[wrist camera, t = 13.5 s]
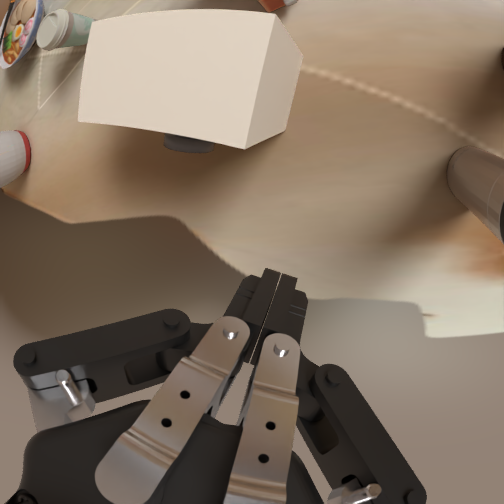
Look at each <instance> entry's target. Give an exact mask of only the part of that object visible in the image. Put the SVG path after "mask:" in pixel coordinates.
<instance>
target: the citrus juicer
mask: <svg viewBox="0 0 504 504" xmlns="http://www.w3.org/2000/svg"><path fill="white" fill-rule="evenodd" d="M30 151H31V148H30V145H29V141H28V138H27V136H26V135H25V133H23V132H21V131H17V130H14V131H12V130H9V131H2V132H0V188H1V187H3V186H5V185H7V184H9V183H10V182H12V181H13V180H15V179H16V178H17V177H18V176H20V175H21V174H22V173H23V172H24V171H25V170H26V169H27V168H28V166H29V163H30Z"/></svg>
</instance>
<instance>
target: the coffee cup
mask: <svg viewBox="0 0 504 504" xmlns="http://www.w3.org/2000/svg"><path fill="white" fill-rule="evenodd" d="M94 21H98V20H96V19H92V18H89V17H86V16H82V15H79V14H75V13H71V12H67V11H66V10H65V9H58V10H56V11H52V12H50V13H48V14H47V15H46V16H45V17H44V19H43V20H42V22H41V24H40V26H39V29H38V32H37V45H38V46H39V47H40V48H43V49H44V50H48V51H50V50H53V49H55V48H62V47H70V46H79V45H87V43H88V38H89V33H90V29H91V24H92V22H94Z"/></svg>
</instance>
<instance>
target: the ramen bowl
mask: <svg viewBox="0 0 504 504" xmlns="http://www.w3.org/2000/svg"><path fill="white" fill-rule="evenodd" d="M43 19H44V3H43V1H42V0H11V3H10V6H9V9H8V11H7V13H6V15H5V17H4V20H3V22H2V25H1V28H0V67H1V68H2V69H6V68H9V67H11V66H12V65H14V64H15V63H16V62H18V61H19V60H20V59H21V58H22V57H23V56H24V55H25V54H26V53H27V52H28V51H29V50H30V48H31V47H32V45H33V44H34V42H35V40H36V39H37V32H38V29H39V26H40V24H41V22H42V20H43Z"/></svg>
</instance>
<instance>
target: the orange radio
mask: <svg viewBox="0 0 504 504" xmlns="http://www.w3.org/2000/svg"><path fill="white" fill-rule="evenodd" d="M258 1H259V3H260V4H261V5H262V6H263V7H264V9H265V10H266V11H267V12H268V13H269V12H272V11H274V10H276V9H278V8H280V7H283V6H285V5H287V6H289V5H291V4H294V3H296V2H297V0H258Z"/></svg>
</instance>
